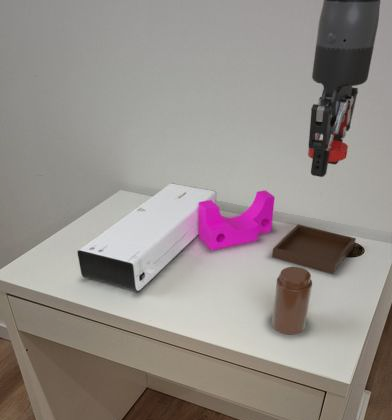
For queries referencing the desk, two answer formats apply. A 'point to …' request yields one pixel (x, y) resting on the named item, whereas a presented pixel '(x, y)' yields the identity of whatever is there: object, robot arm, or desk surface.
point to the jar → (291, 300)
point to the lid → (334, 151)
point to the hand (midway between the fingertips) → (324, 168)
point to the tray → (314, 248)
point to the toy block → (235, 222)
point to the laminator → (145, 238)
